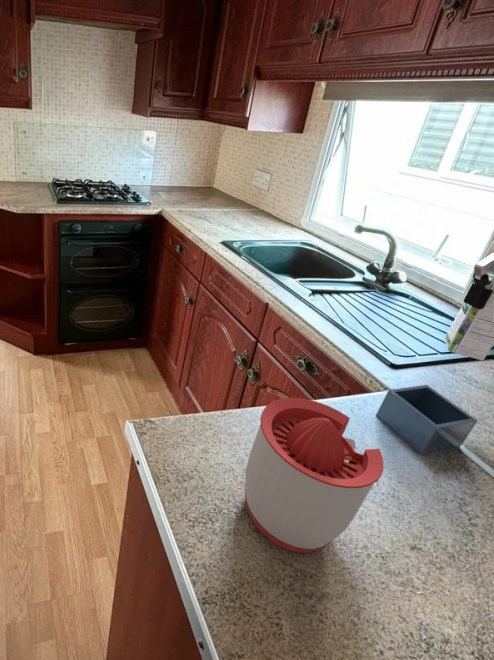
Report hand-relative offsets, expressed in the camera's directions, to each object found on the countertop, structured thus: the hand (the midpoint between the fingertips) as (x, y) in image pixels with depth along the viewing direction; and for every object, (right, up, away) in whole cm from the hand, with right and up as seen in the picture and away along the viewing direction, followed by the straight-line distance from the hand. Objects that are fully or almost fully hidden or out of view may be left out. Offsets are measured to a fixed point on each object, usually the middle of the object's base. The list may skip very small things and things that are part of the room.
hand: (489, 303), depth 75 cm
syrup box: (-1, -10, +5) cm, 11 cm away
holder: (-8, -26, +7) cm, 28 cm away
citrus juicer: (-43, -33, -13) cm, 55 cm away
